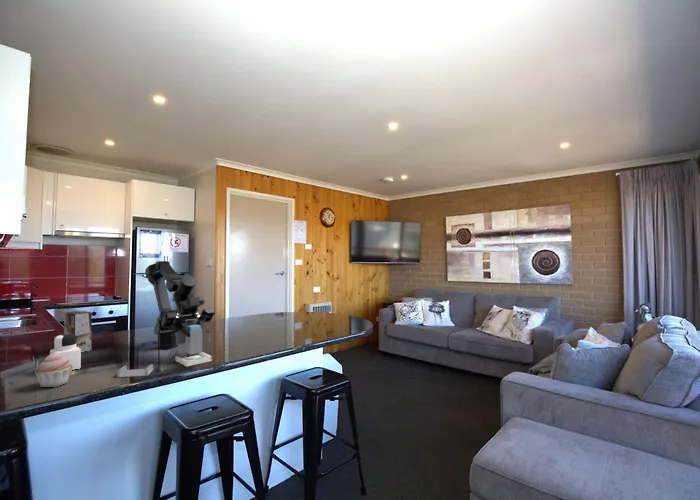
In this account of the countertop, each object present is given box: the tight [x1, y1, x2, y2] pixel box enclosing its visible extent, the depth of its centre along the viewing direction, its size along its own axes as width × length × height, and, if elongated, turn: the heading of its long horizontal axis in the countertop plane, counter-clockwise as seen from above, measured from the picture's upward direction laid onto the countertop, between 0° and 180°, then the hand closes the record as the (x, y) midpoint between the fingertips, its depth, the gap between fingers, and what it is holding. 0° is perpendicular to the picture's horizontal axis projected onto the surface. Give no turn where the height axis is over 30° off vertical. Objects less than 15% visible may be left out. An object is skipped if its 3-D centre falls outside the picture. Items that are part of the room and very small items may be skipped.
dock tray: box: [175, 351, 213, 367], centre depth 136 cm, size 10×10×2 cm
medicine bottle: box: [49, 333, 82, 371], centre depth 125 cm, size 7×7×12 cm
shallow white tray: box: [116, 363, 154, 378], centre depth 121 cm, size 6×9×2 cm, turn 101°
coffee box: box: [63, 310, 93, 353], centre depth 149 cm, size 9×6×16 cm
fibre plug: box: [184, 324, 203, 356], centre depth 136 cm, size 4×4×10 cm
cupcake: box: [34, 352, 73, 388], centre depth 111 cm, size 9×9×10 cm
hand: (195, 335), depth 135 cm, fingers closed on fibre plug, 4 cm apart
